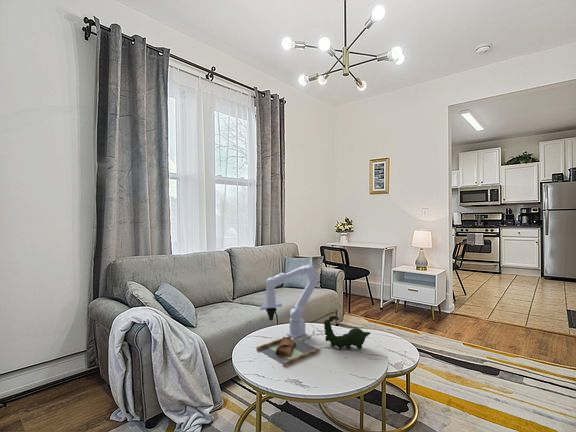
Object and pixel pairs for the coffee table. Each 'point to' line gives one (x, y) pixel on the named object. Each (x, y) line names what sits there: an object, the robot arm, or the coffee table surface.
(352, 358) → the coffee table surface
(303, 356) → the lane rails
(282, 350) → the sunglasses case
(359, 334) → the toy figurine
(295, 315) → the robot arm
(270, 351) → the zone mats
